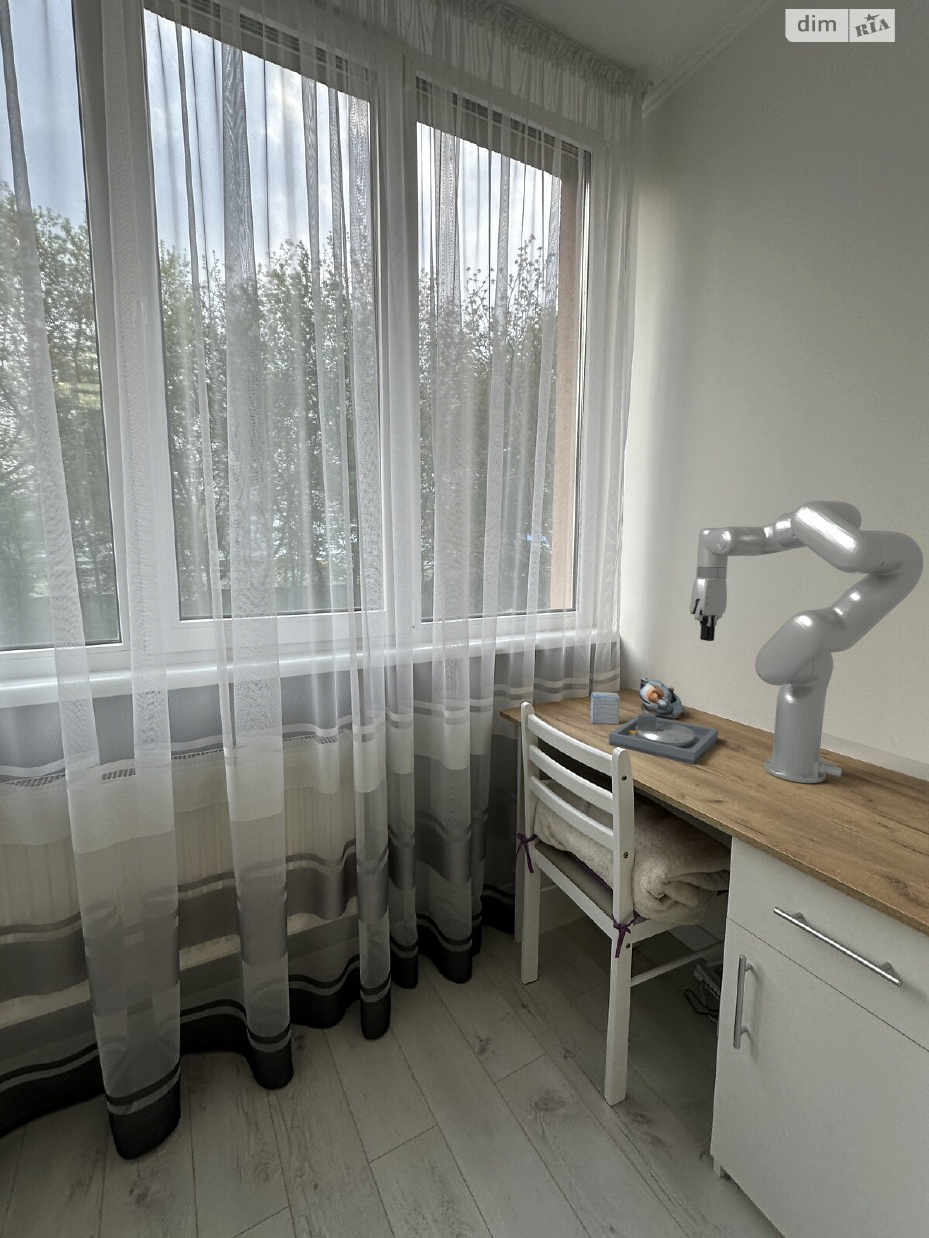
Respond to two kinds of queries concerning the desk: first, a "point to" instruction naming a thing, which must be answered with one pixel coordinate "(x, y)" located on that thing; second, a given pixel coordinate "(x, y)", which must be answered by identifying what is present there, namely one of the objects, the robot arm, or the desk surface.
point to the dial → (663, 732)
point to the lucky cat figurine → (660, 700)
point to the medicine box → (605, 708)
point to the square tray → (688, 754)
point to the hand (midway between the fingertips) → (707, 640)
